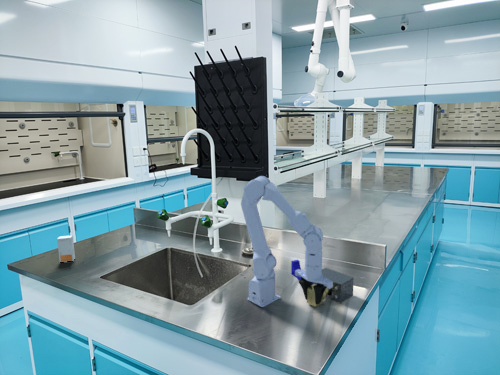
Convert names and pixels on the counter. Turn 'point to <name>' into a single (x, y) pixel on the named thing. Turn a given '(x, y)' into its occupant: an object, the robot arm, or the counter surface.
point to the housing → (338, 285)
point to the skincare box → (66, 248)
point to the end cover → (312, 295)
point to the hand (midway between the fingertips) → (313, 300)
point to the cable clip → (295, 268)
